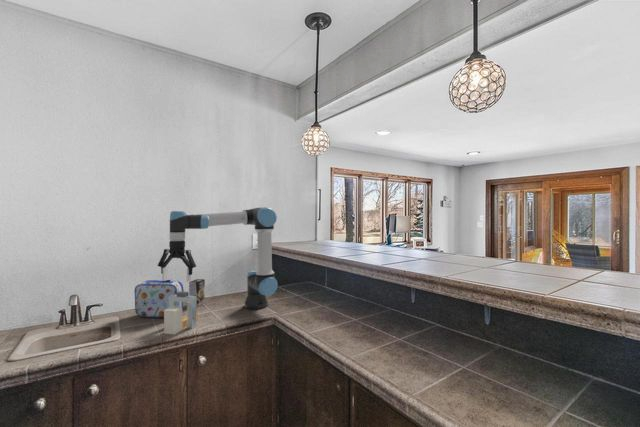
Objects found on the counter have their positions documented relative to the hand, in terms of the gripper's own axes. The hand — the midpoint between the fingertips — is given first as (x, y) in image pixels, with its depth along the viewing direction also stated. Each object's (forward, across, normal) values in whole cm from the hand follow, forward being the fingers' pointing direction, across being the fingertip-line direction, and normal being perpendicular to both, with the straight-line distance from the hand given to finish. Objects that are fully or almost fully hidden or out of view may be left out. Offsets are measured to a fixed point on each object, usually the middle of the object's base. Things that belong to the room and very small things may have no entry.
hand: (176, 280), depth 158 cm
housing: (+26, -1, -4) cm, 26 cm away
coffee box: (+26, +12, -42) cm, 50 cm away
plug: (+26, -1, -5) cm, 26 cm away
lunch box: (+26, +22, -18) cm, 38 cm away
